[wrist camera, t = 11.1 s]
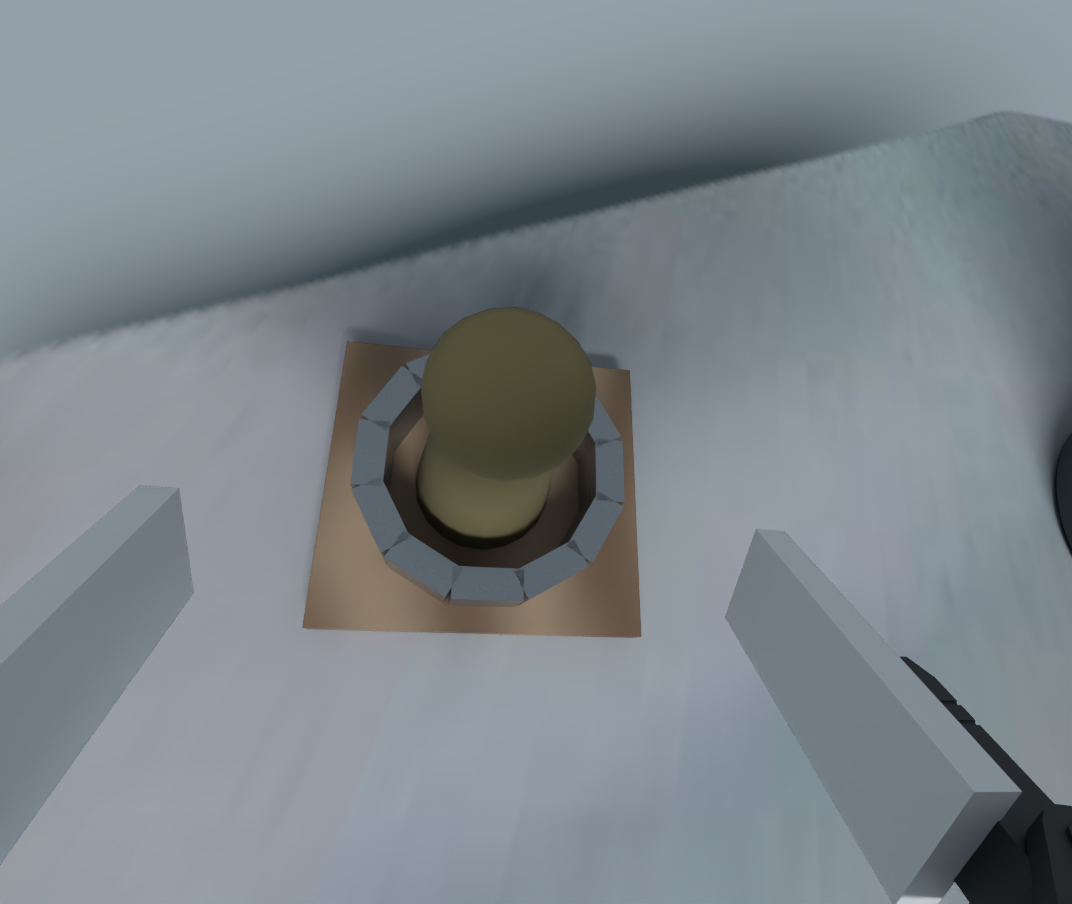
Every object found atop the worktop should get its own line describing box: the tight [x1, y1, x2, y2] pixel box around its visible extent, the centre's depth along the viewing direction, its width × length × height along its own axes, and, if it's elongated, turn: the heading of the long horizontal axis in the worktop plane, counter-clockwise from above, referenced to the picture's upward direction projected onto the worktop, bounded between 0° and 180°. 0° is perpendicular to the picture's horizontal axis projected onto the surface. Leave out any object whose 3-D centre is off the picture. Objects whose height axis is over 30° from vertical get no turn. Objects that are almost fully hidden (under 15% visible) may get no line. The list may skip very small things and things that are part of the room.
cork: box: [415, 307, 596, 550], centre depth 20 cm, size 6×6×11 cm
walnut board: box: [302, 341, 641, 638], centre depth 26 cm, size 14×13×1 cm
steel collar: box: [350, 354, 625, 607], centre depth 24 cm, size 11×11×3 cm
